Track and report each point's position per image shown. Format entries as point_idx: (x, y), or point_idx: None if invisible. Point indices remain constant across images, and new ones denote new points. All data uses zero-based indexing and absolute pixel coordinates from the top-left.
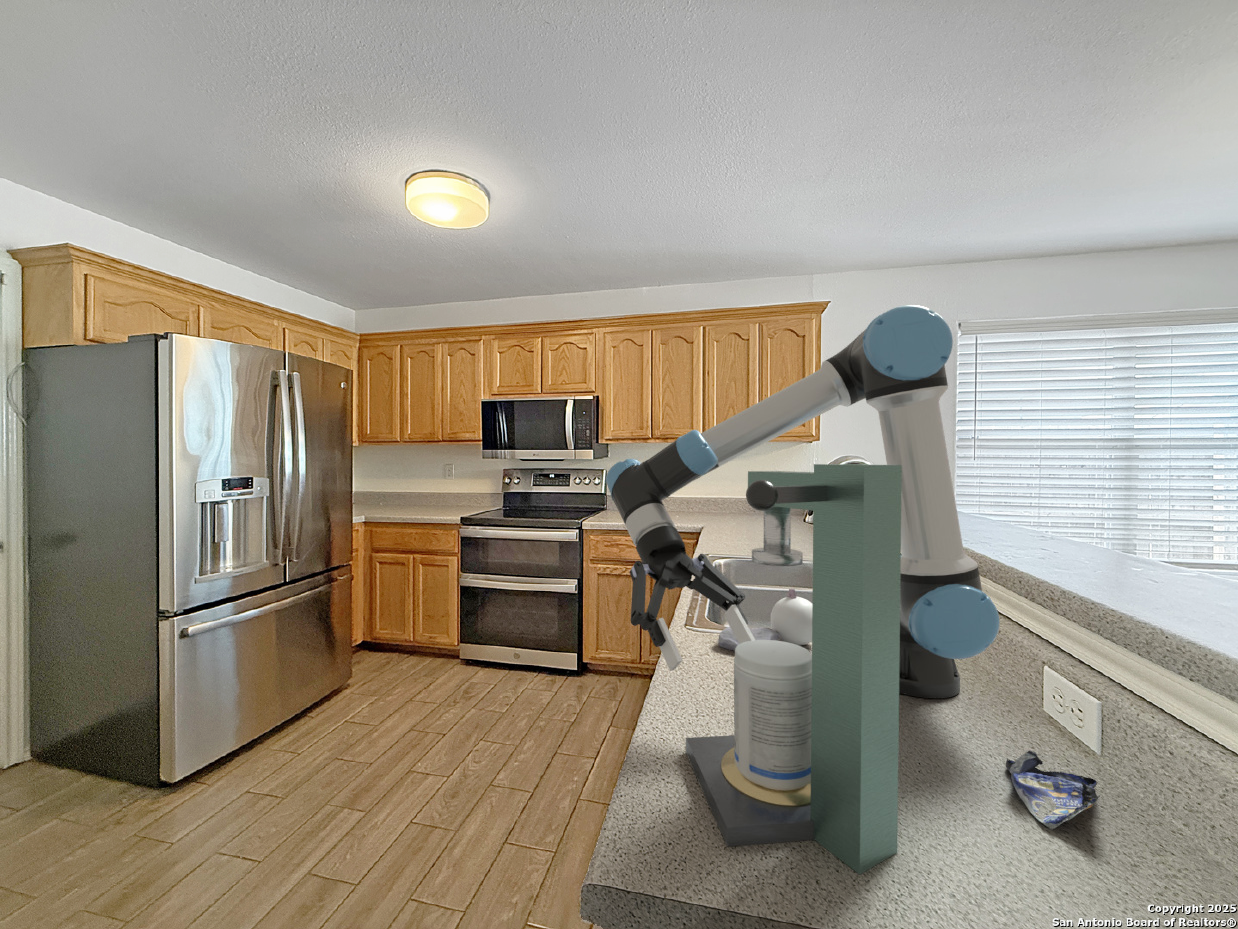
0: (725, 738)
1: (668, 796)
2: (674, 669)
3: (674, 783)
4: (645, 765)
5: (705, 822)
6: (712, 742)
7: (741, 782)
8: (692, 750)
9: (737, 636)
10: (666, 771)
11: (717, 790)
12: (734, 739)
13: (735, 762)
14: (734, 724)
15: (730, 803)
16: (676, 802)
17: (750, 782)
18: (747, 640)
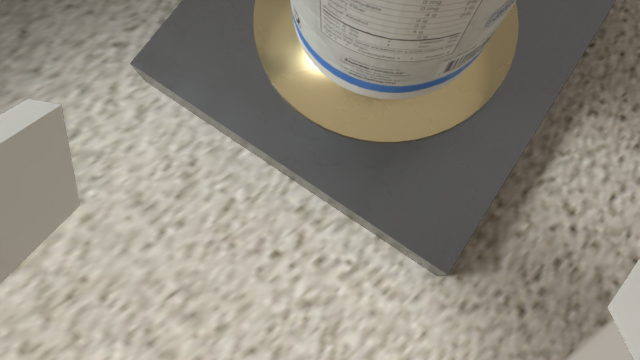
0: (353, 192)
1: (607, 172)
2: (612, 303)
3: (560, 198)
4: (574, 306)
5: (595, 64)
6: (400, 204)
7: (493, 35)
8: (483, 212)
9: (5, 258)
10: (543, 247)
11: (558, 58)
12: (481, 45)
13: (472, 63)
14: (500, 17)
15: (567, 13)
16: (605, 145)
17: None
18: (40, 154)
